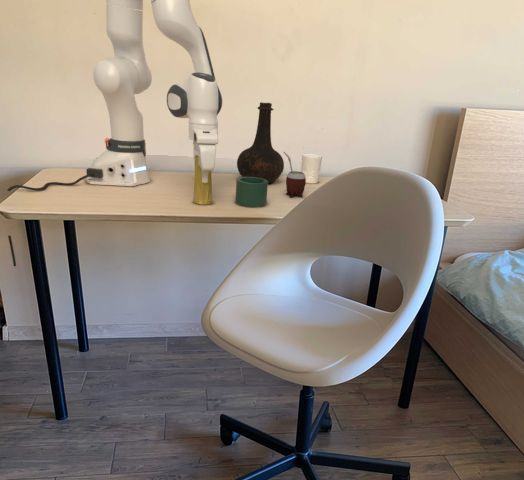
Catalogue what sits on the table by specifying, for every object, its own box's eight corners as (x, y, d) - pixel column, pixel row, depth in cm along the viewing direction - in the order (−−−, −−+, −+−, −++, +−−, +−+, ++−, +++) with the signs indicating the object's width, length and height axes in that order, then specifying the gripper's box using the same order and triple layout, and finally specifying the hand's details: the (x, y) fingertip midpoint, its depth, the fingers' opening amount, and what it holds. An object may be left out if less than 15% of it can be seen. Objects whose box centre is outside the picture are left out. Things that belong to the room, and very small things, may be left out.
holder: (239, 207, 164) (240, 183, 160) (232, 199, 172) (233, 176, 169) (269, 207, 167) (271, 184, 163) (261, 199, 175) (263, 176, 171)
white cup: (322, 183, 203) (325, 157, 198) (304, 184, 200) (307, 157, 195) (313, 179, 209) (316, 153, 204) (296, 179, 206) (298, 153, 201)
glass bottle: (227, 179, 199) (229, 99, 185) (261, 175, 210) (266, 99, 195) (257, 189, 188) (262, 105, 174) (291, 184, 198) (299, 105, 184)
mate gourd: (307, 195, 184) (311, 151, 176) (298, 199, 178) (303, 154, 170) (288, 192, 187) (292, 148, 179) (279, 196, 180) (283, 151, 173)
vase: (194, 204, 163) (194, 158, 156) (192, 200, 168) (191, 154, 161) (213, 204, 165) (214, 158, 157) (210, 200, 170) (210, 154, 162)
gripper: (188, 128, 164) (189, 172, 171) (197, 138, 147) (197, 187, 154) (208, 129, 165) (207, 173, 172) (219, 139, 148) (218, 187, 155)
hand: (203, 180), depth 163 cm, fingers closed on vase, 5 cm apart
